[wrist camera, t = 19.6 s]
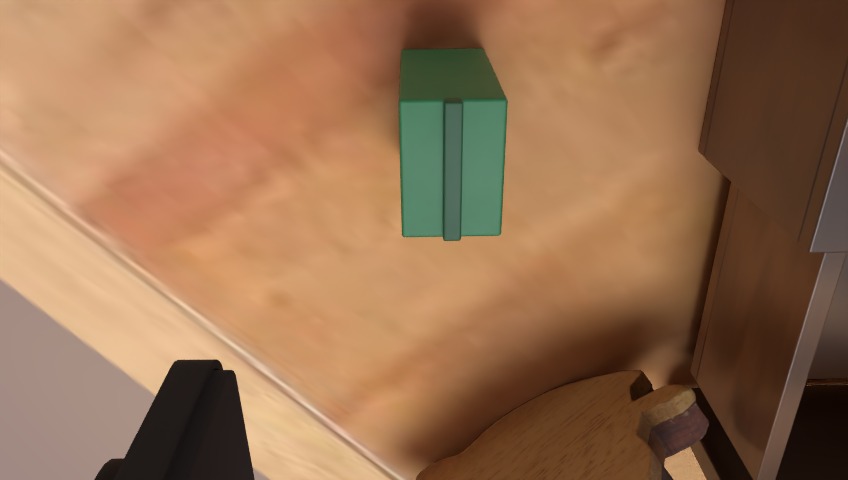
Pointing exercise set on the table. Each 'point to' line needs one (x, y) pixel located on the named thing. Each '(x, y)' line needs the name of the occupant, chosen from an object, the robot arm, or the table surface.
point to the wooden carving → (584, 434)
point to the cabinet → (784, 114)
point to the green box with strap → (451, 144)
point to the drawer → (772, 355)
